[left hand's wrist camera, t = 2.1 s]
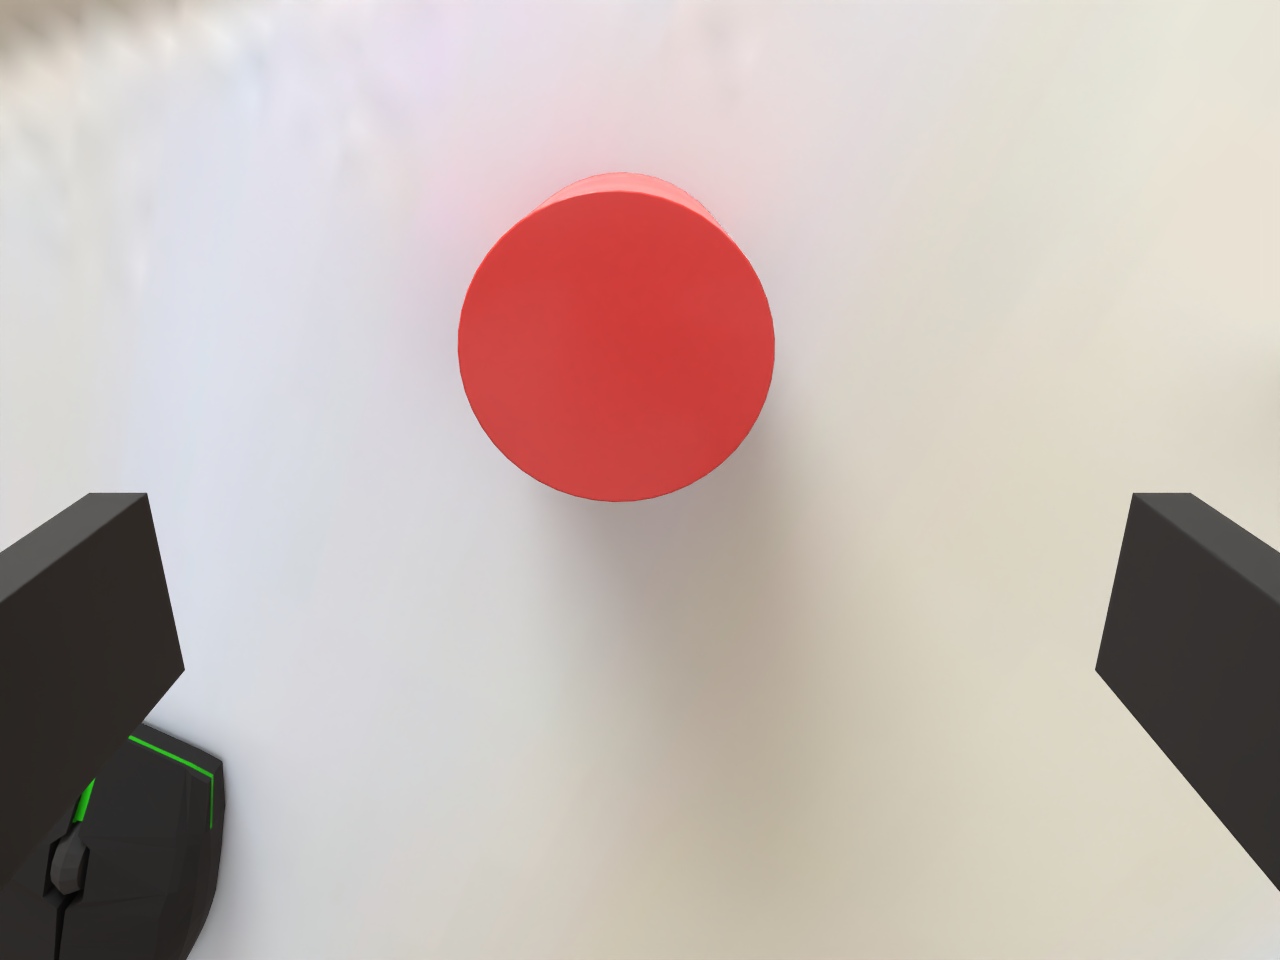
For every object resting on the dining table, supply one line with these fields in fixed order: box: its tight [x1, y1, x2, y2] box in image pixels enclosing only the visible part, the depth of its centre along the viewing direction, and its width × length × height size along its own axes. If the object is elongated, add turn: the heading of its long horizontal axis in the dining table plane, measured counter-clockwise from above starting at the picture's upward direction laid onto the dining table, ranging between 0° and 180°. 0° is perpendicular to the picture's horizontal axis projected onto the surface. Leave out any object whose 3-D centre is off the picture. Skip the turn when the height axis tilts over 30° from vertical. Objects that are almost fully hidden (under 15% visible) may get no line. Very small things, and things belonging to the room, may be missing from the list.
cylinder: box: [458, 173, 775, 502], centre depth 28 cm, size 8×8×10 cm
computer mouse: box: [0, 723, 225, 960], centre depth 40 cm, size 11×16×4 cm
